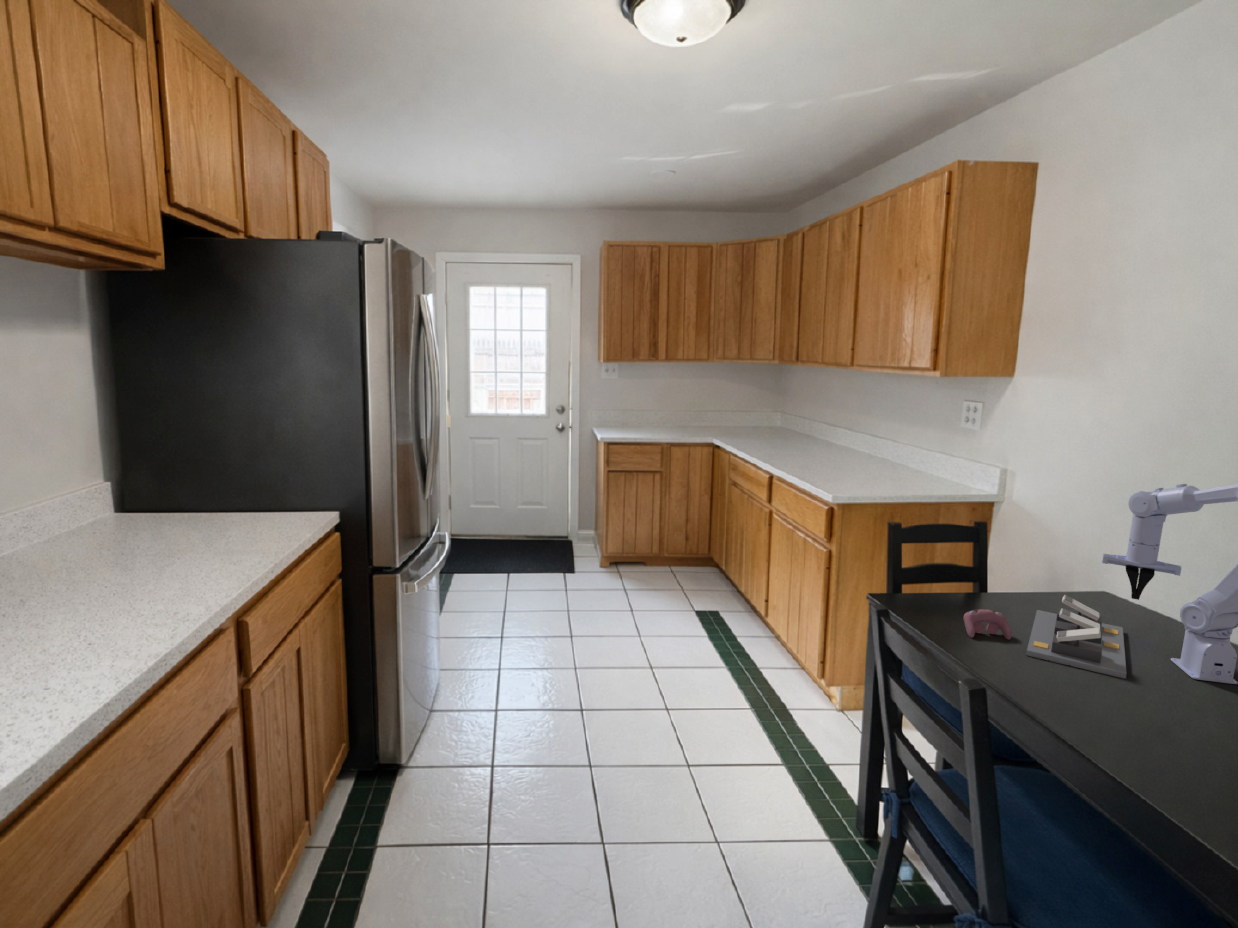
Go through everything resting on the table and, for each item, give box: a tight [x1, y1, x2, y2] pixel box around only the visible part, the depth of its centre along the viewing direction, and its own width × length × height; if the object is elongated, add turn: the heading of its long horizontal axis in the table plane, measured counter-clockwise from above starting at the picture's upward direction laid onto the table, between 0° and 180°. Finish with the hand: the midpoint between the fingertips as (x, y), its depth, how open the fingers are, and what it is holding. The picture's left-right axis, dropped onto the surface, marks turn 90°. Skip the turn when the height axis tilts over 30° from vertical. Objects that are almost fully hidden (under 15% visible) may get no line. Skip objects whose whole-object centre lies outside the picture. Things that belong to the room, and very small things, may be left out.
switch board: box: [1025, 607, 1127, 680], centre depth 159 cm, size 18×30×5 cm, turn 145°
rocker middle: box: [1059, 608, 1100, 629], centre depth 159 cm, size 8×4×1 cm, turn 56°
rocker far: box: [1061, 594, 1100, 621], centre depth 167 cm, size 8×4×1 cm, turn 56°
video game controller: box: [962, 608, 1012, 641], centre depth 163 cm, size 10×5×7 cm, turn 85°
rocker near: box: [1057, 628, 1101, 642], centre depth 151 cm, size 8×4×1 cm, turn 55°
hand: (1135, 598), depth 161 cm, fingers closed
